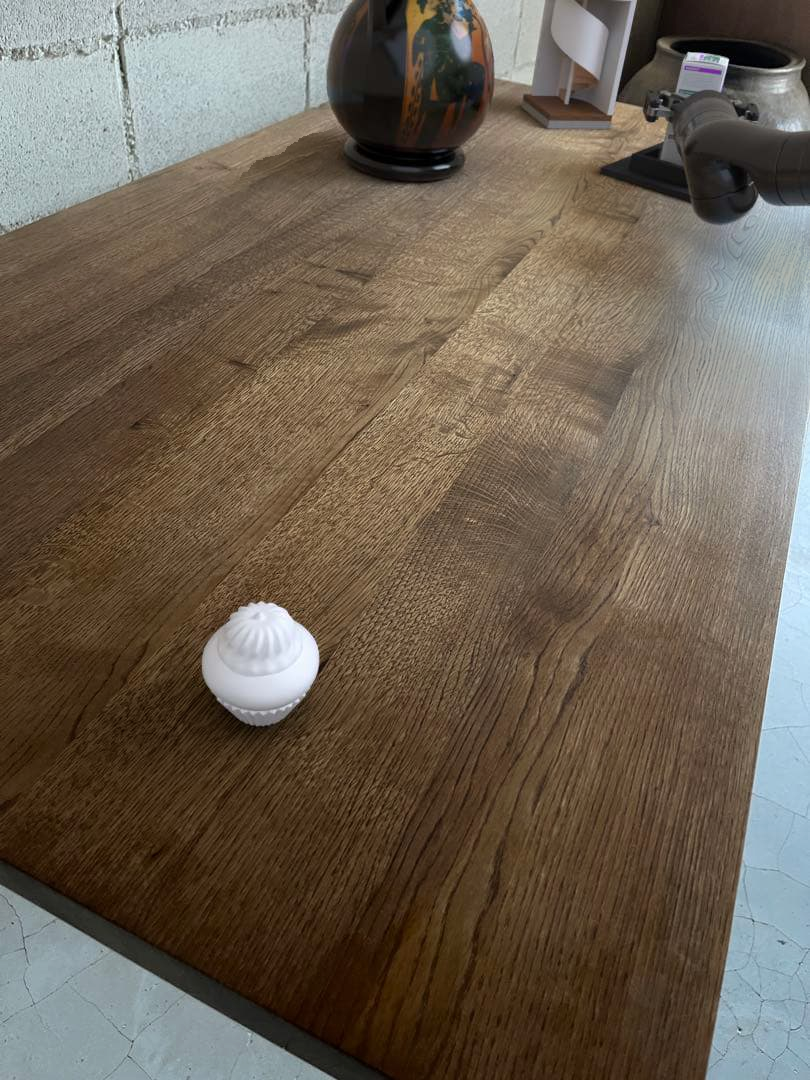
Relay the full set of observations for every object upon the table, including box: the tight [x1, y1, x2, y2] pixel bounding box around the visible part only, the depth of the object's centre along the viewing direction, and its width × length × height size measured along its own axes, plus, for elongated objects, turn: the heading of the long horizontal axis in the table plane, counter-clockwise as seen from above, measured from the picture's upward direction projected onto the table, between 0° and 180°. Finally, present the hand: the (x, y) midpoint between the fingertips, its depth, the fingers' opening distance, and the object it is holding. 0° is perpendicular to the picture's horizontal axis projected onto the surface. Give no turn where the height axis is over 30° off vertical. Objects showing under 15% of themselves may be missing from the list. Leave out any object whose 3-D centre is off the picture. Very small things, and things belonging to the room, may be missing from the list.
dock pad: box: [599, 141, 692, 203], centre depth 128 cm, size 16×16×3 cm
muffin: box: [201, 600, 320, 727], centre depth 48 cm, size 6×6×7 cm
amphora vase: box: [325, 0, 496, 183], centre depth 115 cm, size 22×22×28 cm
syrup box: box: [660, 51, 730, 167], centre depth 124 cm, size 6×6×14 cm
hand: (695, 98), depth 125 cm, fingers open, 8 cm apart
